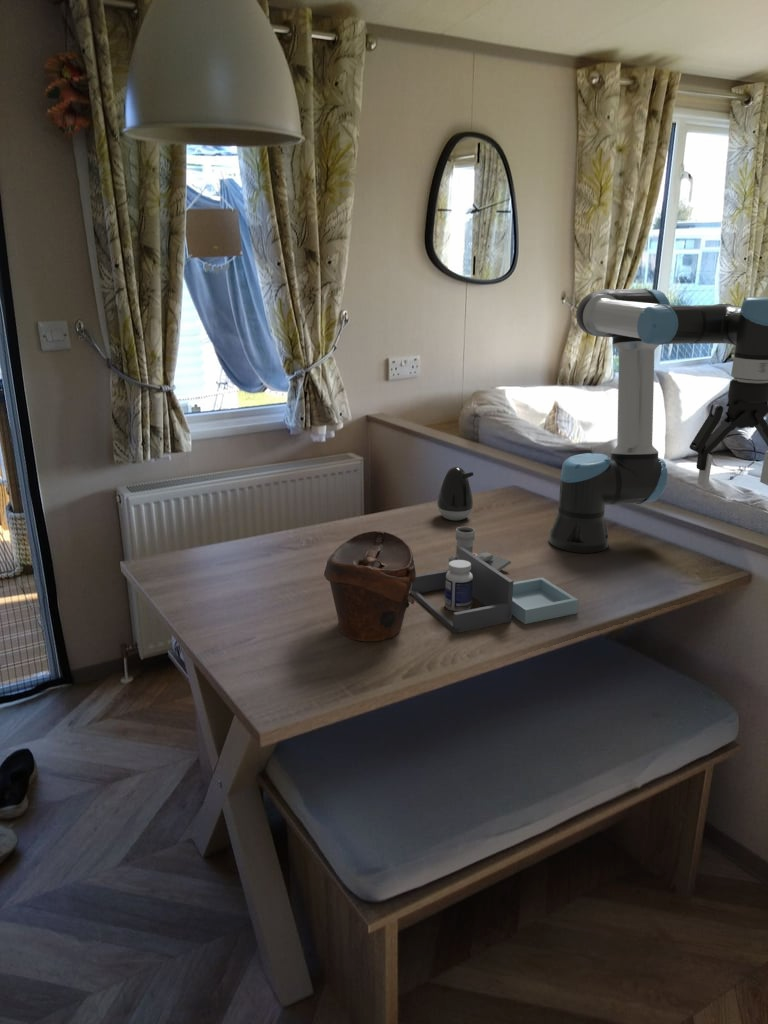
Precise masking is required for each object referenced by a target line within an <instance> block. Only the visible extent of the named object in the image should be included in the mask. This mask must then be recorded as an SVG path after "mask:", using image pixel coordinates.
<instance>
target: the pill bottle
mask: <svg viewBox="0 0 768 1024" xmlns="http://www.w3.org/2000/svg"><path fill="white" fill-rule="evenodd" d="M448 569H449V570H450V571H449V572H448V573H447V574H446V588H445V592H444V593H445V596H444V604H445V607H446V609H447V610H449V611H452V612H460V611H465V610H470V609H472V606H473V596H472V588H473V575H472V574H471V572H470V570H471V563H470V562H468V561H465V560H453V561H451V562H449V561H448Z"/></svg>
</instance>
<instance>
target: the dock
mask: <svg viewBox="0 0 768 1024" xmlns="http://www.w3.org/2000/svg"><path fill="white" fill-rule="evenodd" d="M458 560H465V561H468V562H470V563H471V570H470V572H471V574H472V575H473V588H472V598H474V599H476V600H477V601H478V602H480V604H482V605H484V606H482V607H476V608H470V609H469V610H465V611H460V612H457V611H453V613H452V620H451V619H449V618H448V617H447V616H446V615H445V614H443V613H442V612H441V610H439V609H438V608H436V606H434V605H433V604H432V603H431V602H430V601H428V600H427V598H426V597H424V596H423V595H422V594H423V593H427V592H434V591H438V590H444V589H446V574H447V573H448V572H449V571H450V570H448V569H445V570H438V571H433V572H427V573H422V574H420V573H419V574H416V578H415V581H414V582H413V583H412V582H411V587H410V591H409V594H410V595H412V596H413V598H414V599H416V600H417V601H418V602H419V603H421V604H422V605H423V606H424V607H425V608H426V609H427V610H428V611H429V612H431V613H432V614H433V615H434V616H435V618H437V619H438V620H440V621H441V622H442V624H444V625H445V626H446V627H448V629H450V630H451V631H452V632H453V633H455V634H456V633H462V632H466V631H472V630H473V631H474V630H477V629H481V628H486V627H492V626H497V625H501V624H506V623H510V622H512V598H513V582H515V581H514V580H513V579H511V578H510V577H508V576H506V575H505V574H504V573H503V572H501V571H498V570H496V569H495V568H493V567H492V566H490V565H489V564H487V563H486V562H484V561H483V560H481V559H480V558H478V557H477V556H475V555H474V554H472V553H471V552H469V551H468V550H466V549H465V548H463V547H459V553H458Z"/></svg>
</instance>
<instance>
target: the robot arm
mask: <svg viewBox="0 0 768 1024" xmlns="http://www.w3.org/2000/svg"><path fill="white" fill-rule="evenodd" d="M575 318H576V323H577V325H578V327H579V329H581V331H582V332H584V333H586V334H587V335H590V336H593V337H600V338H612V346H613V347H614V348H615V349H616V350H617V351H618V384H617V385H618V386H617V387H618V389H617V435H616V437H617V438H616V442H617V445H616V446H615V447H614V449H612V450H611V452H610V457H609V456H608V455H606V454H604V453H596V452H594V453H592V452H586V453H577V454H575V455H571V456H569V457H567V458H566V459H565V460H564V461H563V463H562V467H561V473H560V479H559V480H560V485H559V496H558V497H559V498H558V501H559V502H558V513H557V515H556V518H555V520H554V523H553V525H552V527H551V529H550V531H549V536H548V537H549V539H548V542H549V544H550V545H552V546H553V547H554V548H557V549H560V550H562V551H567V552H570V553H571V552H572V553H580V554H584V553H585V554H592V553H600V552H602V551H605V550H607V549H608V547H609V541H610V540H609V539H610V537H609V534H608V529H607V524H606V521H605V511H606V510H605V509H606V506H610V505H611V506H612V505H631V504H637V505H642V504H645V503H646V504H647V503H653V502H656V501H657V500H659V498H660V497H661V496H662V495H663V493H664V491H665V490H666V487H667V485H668V484H667V483H668V475H669V474H668V473H669V472H668V468H667V467H666V466H667V464H666V462H665V461H664V460H663V459H662V458H660V457H659V451H658V450H657V448H655V446H654V445H653V429H654V426H653V424H654V423H653V422H654V393H655V392H654V388H655V385H654V384H655V383H654V382H655V352H656V351H655V350H656V349H657V348H658V346H659V345H660V346H661V345H673V344H674V345H677V344H678V345H679V344H681V345H683V344H690V345H691V344H694V345H695V344H725V345H732V346H733V345H734V346H735V348H734V349H735V350H734V354H733V355H734V356H733V362H732V367H731V371H730V372H731V374H730V376H731V378H733V379H731V380H730V381H729V387H728V392H727V400H728V401H727V404H726V405H719V404H716V403H713V404H711V406H710V410H709V414H708V416H707V417H706V418H705V420H704V422H703V423H702V425H701V426H700V428H699V430H698V432H697V433H696V435H695V436H694V438H693V440H692V442H691V443H690V444H689V449H690V450H692V451H693V452H695V453H697V460H696V469H697V470H698V478H697V484H698V485H700V486H701V487H703V488H708V487H709V480H710V475H711V470H712V469H711V468H712V462H713V455H712V454H711V452H712V451H713V450H714V449H715V448H717V446H718V445H719V444H720V443H721V442H722V441H723V440H724V439H725V437H727V435H729V434H730V433H731V432H732V431H735V429H736V428H738V429H745V428H749V429H751V428H752V429H754V428H755V429H756V431H757V432H758V434H759V435H760V437H761V438H762V440H763V441H764V443H765V445H766V446H767V447H768V423H767V421H766V419H765V417H766V415H767V414H768V297H767V296H766V297H765V296H758V297H757V296H756V297H755V296H750V297H749V296H748V297H746V298H744V300H742V304H741V305H733V304H731V303H717V304H706V305H705V304H703V305H702V304H701V305H700V304H698V305H697V304H696V305H695V304H694V305H688V304H687V305H685V304H683V305H681V304H678V305H677V304H676V305H675V304H671V301H670V300H669V298H668V297H667V296H666V294H665V293H664V292H662V291H661V290H658V289H651V288H649V289H648V288H622V289H621V288H617V289H616V288H614V289H613V288H605V289H603V288H602V289H598V290H594V291H592V292H590V293H589V294H586V296H585V297H583V298H582V299H581V301H579V304H578V306H577V308H576V313H575ZM725 415H726V417H725ZM722 417H724V418H723V419H722ZM721 419H722V420H721ZM720 421H721V422H720ZM719 422H720V425H719ZM718 425H719V426H718ZM717 426H718V427H717ZM716 427H717V428H716ZM759 482H760V483H762V484H764V485H765V486H768V450H766V451H765V452H764V457H763V463H762V469H761V474H760V479H759Z"/></svg>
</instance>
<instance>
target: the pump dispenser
mask: <svg viewBox="0 0 768 1024" xmlns="http://www.w3.org/2000/svg"><path fill="white" fill-rule="evenodd" d="M473 476H474V472H473V471H471V472H466V471H465V469H464V468H462V467H460V466H453V467H451V468H449V469H448V470H447V472H446V473H445V475H444V477H443V479H442V482H441V483H440V488H439V491H438V497H437V505H436V506H437V507H438V511H439V514H440V515H441V516H442V517H443V518H444V519H447V520H449V521H456V522H457V521H462V520H465V519H466V518H468V516H470V514H471V512H472V509H473V507H474V499H473V491H472V486H471V483H470V480H469V478H470V477H473Z"/></svg>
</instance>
